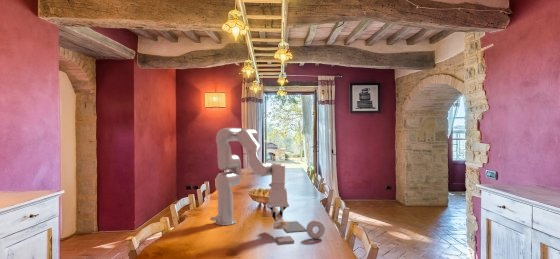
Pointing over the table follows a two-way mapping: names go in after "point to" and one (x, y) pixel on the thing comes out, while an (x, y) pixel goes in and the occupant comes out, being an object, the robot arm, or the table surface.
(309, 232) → the donut
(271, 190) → the robot arm
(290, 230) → the mat
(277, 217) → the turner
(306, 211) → the table surface
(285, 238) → the tile
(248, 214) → the table surface
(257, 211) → the table surface
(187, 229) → the table surface
